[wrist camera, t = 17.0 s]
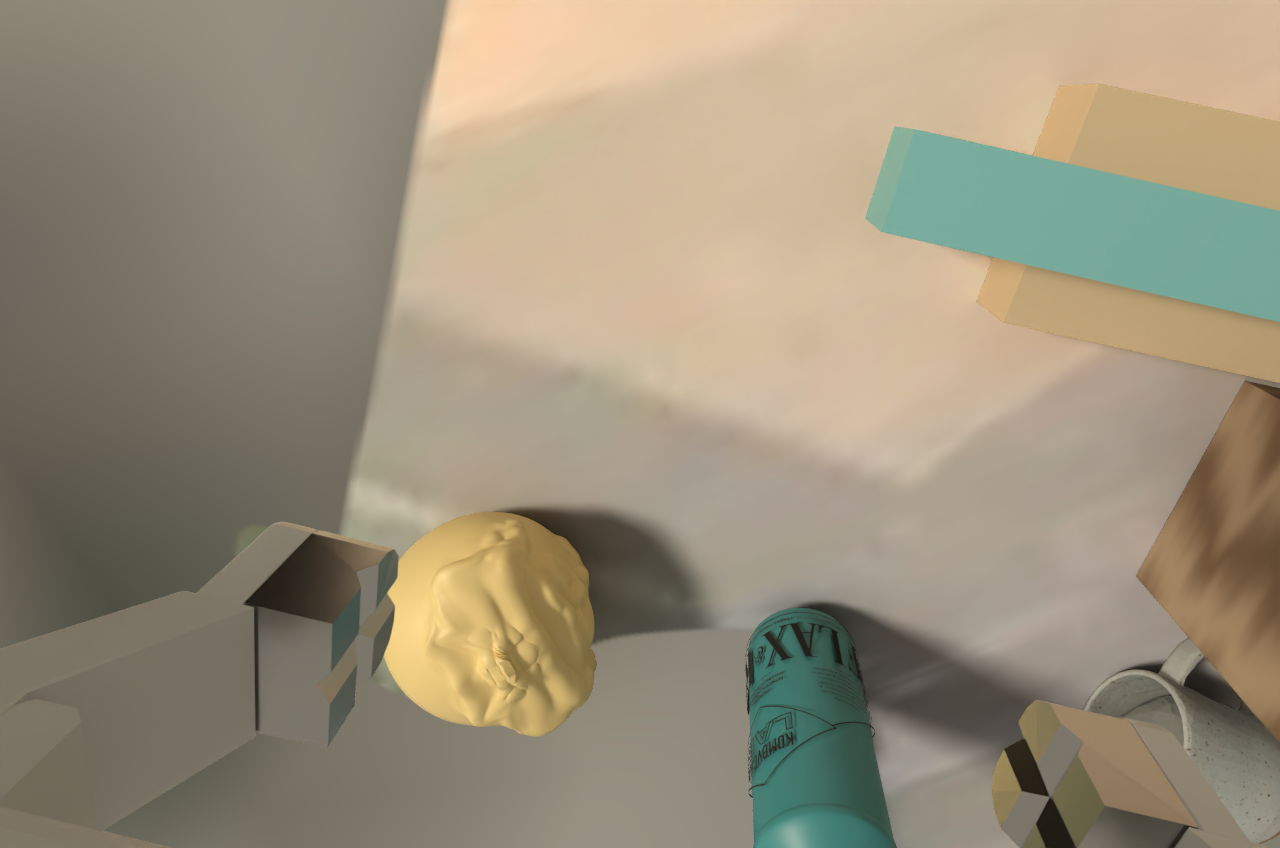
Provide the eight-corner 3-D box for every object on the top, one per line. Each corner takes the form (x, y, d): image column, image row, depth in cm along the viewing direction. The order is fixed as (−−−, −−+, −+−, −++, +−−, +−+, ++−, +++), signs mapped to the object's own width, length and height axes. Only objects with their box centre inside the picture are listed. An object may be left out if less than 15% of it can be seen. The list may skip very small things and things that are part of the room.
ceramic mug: (1173, 777, 48) (1251, 891, 41) (1057, 730, 47) (1116, 838, 40) (1290, 654, 44) (1400, 758, 37) (1164, 602, 43) (1251, 697, 36)
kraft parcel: (1059, 86, 34) (1101, 83, 30) (1417, 161, 33) (1505, 169, 30) (976, 301, 38) (1003, 323, 34) (1295, 371, 37) (1358, 400, 34)
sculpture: (637, 613, 47) (613, 747, 38) (473, 662, 50) (411, 798, 41) (558, 459, 44) (509, 562, 34) (387, 521, 47) (295, 633, 37)
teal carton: (894, 126, 31) (915, 129, 28) (1420, 244, 31) (1508, 261, 28) (865, 218, 33) (881, 231, 29) (1367, 331, 33) (1443, 359, 29)
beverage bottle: (869, 608, 45) (963, 949, 27) (825, 689, 48) (883, 1048, 30) (766, 574, 45) (791, 894, 27) (727, 657, 48) (727, 999, 30)
